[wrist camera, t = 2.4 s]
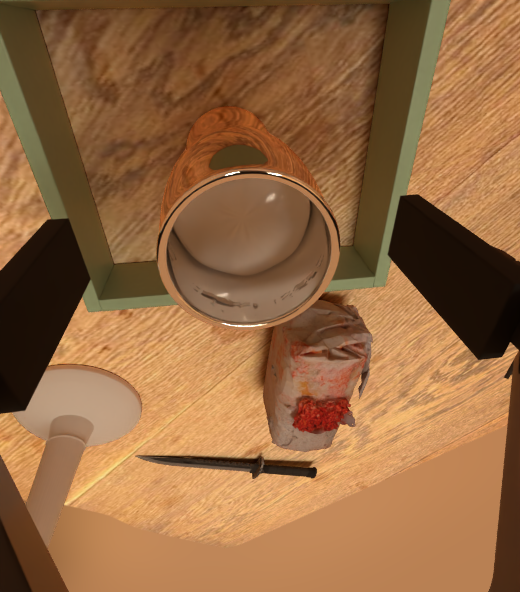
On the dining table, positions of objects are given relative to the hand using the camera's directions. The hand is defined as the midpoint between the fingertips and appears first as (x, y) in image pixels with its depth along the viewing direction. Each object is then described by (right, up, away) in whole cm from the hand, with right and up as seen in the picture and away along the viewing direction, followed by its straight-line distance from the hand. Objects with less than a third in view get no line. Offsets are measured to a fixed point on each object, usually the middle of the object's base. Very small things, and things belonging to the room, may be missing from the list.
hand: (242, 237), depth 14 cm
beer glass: (-1, +8, +10) cm, 13 cm away
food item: (+5, -7, +22) cm, 24 cm away
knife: (-3, -25, +34) cm, 42 cm away
